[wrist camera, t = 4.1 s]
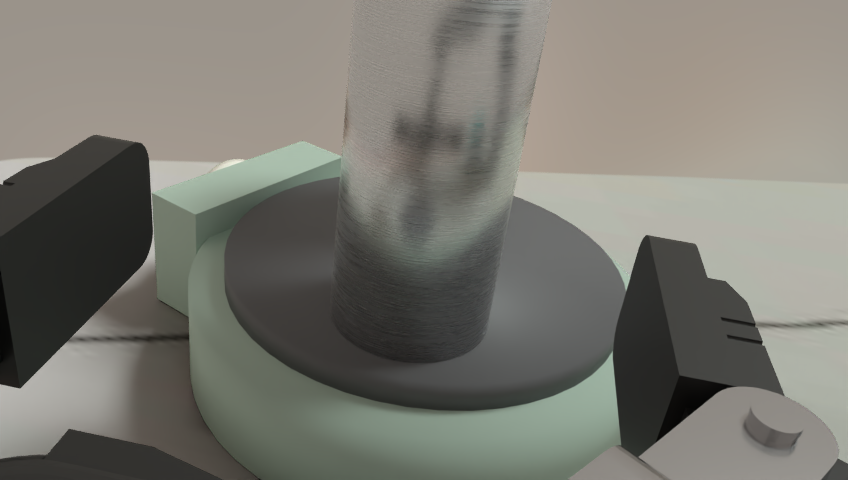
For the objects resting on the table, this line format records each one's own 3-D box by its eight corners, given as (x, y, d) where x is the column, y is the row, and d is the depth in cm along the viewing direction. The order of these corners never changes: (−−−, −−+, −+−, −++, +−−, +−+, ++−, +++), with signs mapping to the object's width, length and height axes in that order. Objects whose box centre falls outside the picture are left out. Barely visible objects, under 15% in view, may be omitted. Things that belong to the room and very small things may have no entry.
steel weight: (515, 313, 21) (599, -76, 16) (430, 386, 18) (504, -70, 13) (392, 257, 23) (435, -106, 18) (296, 314, 20) (318, -109, 15)
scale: (686, 351, 27) (720, 255, 25) (492, 639, 17) (526, 509, 15) (342, 202, 34) (349, 117, 32) (52, 335, 24) (36, 221, 22)
